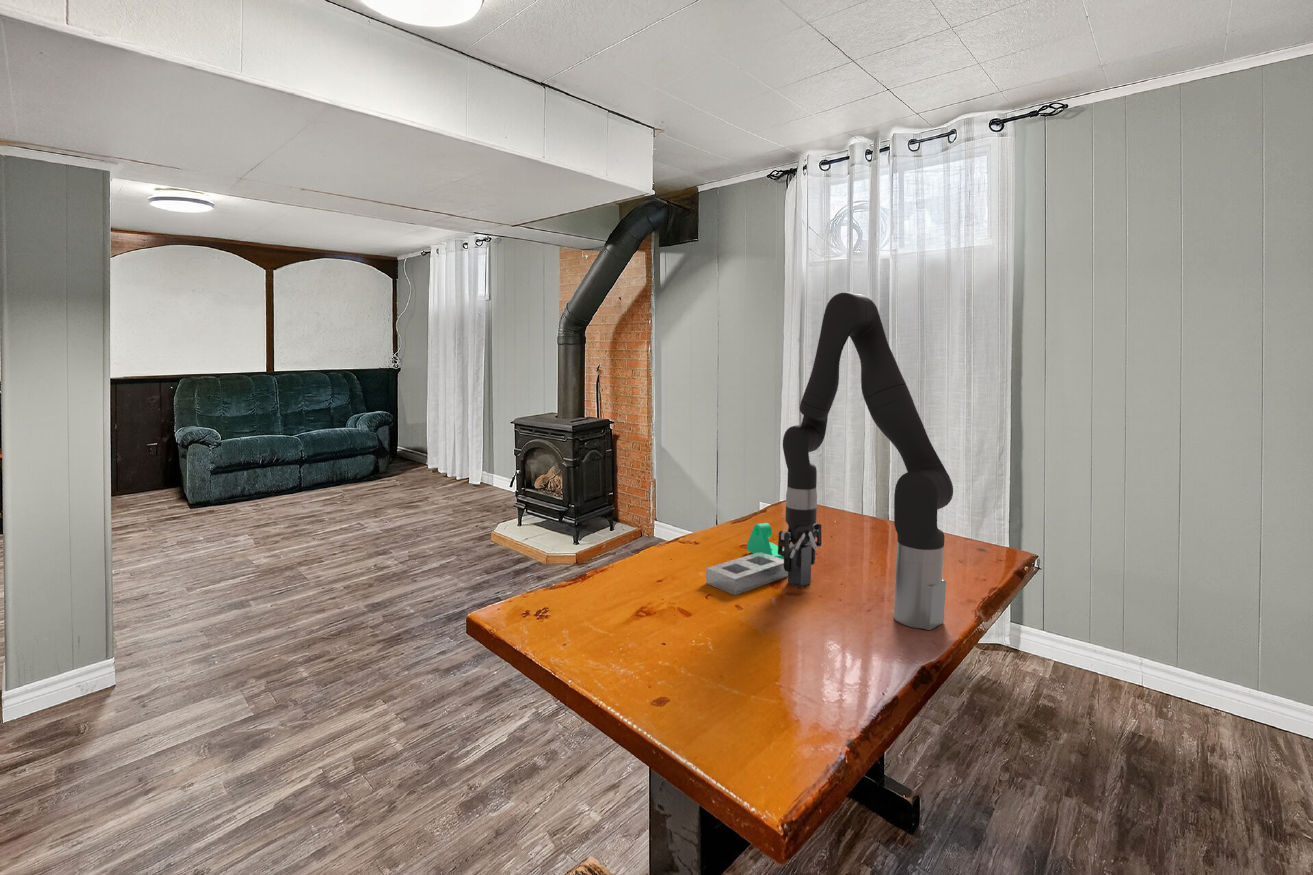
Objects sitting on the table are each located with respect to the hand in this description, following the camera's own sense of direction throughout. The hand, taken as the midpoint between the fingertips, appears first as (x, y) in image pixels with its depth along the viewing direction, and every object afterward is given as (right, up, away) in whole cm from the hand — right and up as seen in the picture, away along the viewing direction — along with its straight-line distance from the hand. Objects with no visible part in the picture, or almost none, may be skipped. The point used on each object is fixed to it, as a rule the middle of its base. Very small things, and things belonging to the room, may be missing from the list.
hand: (799, 567), depth 157 cm
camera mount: (-4, -2, +21) cm, 21 cm away
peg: (0, -4, +1) cm, 4 cm away
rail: (-13, -4, +3) cm, 13 cm away
